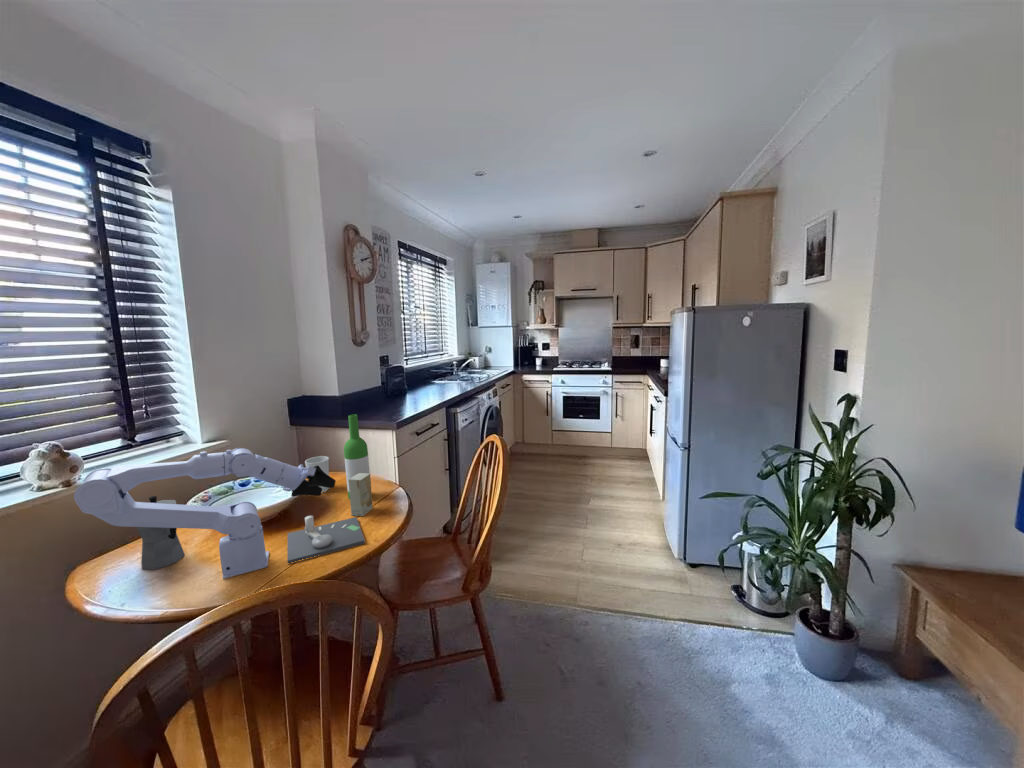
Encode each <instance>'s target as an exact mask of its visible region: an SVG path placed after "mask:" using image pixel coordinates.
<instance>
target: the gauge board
mask: <svg viewBox="0 0 1024 768" xmlns="http://www.w3.org/2000/svg"><path fill="white" fill-rule="evenodd" d="M314 528H315V531H316V532H317V533H319V534H320V535H325V534H328V535H331V536H332V543H331V544H330V545H328V546H326V547H323V548H314V547H313V546H312V540H313V538H312V537H311V536H310V535H308V534H307V533H306V529H305V528H304V529H300V530H296V531H292V532H288V533H287V552H286V553H287V556H286V558H287V564H288V563H291V562H295V561H298V560H302V559H306V558H310V557H313V558H315V557H314V556H317V557H319V556H318V555H321V556H324V555H327V553H328V554H330V553H332V554H333V553H335V552H339V551H342V550H346V549H350V548H353V547H357V546H360V545H364V544H366V540H365V537H364V534H363V531H362V528H361V526H360V524H359V521H358V516H355V517H351V518H346V519H342V520H337V521H334V522H329V523H325V524H320V525H316V526H314ZM323 554H324V555H323ZM310 559H311V558H310ZM306 560H307V559H306ZM302 561H303V560H302ZM298 562H299V561H298ZM295 563H296V562H295ZM291 564H292V563H291Z"/></svg>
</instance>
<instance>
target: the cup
mask: <svg viewBox="0 0 1024 768" xmlns="http://www.w3.org/2000/svg"><path fill="white" fill-rule="evenodd" d="M329 462H330V457H329V456H325V455H319V456H314V457H310V458H307V459H306V460H305V461H304V465H305V468H307V467H309V466H310V467H314V466H316V465H317V466H319V467H320V468H321V470H322V471H323V472H324V473H326V474H327V475H328V476H330V471H329V469H330V467H329V466H330V463H329ZM319 487H321V488H322V492H324V493H326V492H325V491H327V490H328V489H329V490H330V488H328V487H322V486H319ZM329 490H328V491H329ZM328 491H327V492H328Z"/></svg>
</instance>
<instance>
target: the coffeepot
mask: <svg viewBox="0 0 1024 768" xmlns="http://www.w3.org/2000/svg"><path fill="white" fill-rule="evenodd" d="M148 500H149V503H163V504H177V501H176V499H162V500H157V495H151V496H149V497H148ZM136 529H137V531H138V534H139V536H140V538H141V540H142V542H141V559H140V560H141V563H140V565H141V570H145V571H154V570H159V569H162V568H166V567H168V566H171V565H174V564H175V563H178V562H179V561H180V560H181V559H182V558H183V557H184V556H185V552H184V548H183V547H182V544H181V542H180V539H179V536H178V533H177V530H178V528H159V527H136Z"/></svg>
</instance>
